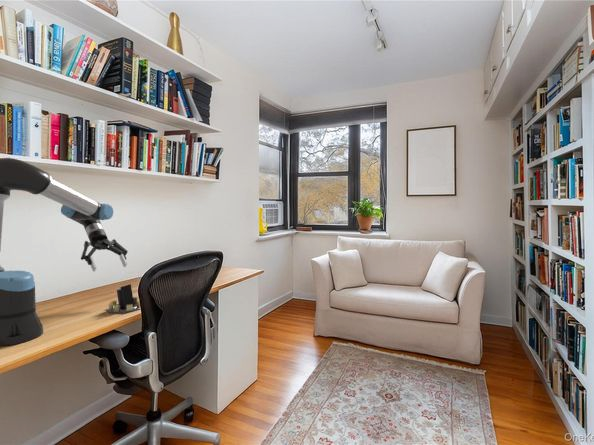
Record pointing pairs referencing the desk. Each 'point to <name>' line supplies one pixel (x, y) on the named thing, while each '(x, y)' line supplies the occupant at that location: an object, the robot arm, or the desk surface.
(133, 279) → the desk surface
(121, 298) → the speaker
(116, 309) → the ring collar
